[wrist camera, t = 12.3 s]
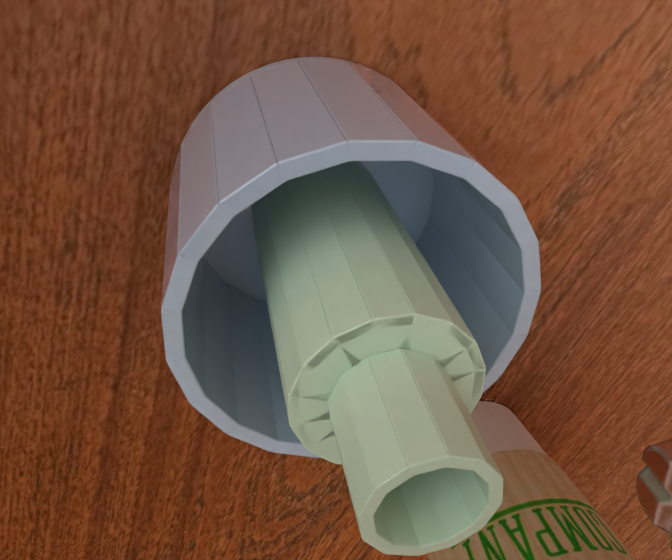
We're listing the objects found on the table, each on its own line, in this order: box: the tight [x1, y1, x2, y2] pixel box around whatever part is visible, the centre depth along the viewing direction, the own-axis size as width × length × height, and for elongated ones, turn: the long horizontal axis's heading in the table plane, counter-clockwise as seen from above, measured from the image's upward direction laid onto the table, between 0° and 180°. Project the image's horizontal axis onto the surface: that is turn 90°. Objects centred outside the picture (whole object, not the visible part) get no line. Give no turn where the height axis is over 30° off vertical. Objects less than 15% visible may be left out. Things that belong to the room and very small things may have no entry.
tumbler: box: [161, 57, 541, 458], centre depth 19 cm, size 10×10×8 cm
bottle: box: [252, 161, 503, 556], centre depth 16 cm, size 5×5×13 cm
